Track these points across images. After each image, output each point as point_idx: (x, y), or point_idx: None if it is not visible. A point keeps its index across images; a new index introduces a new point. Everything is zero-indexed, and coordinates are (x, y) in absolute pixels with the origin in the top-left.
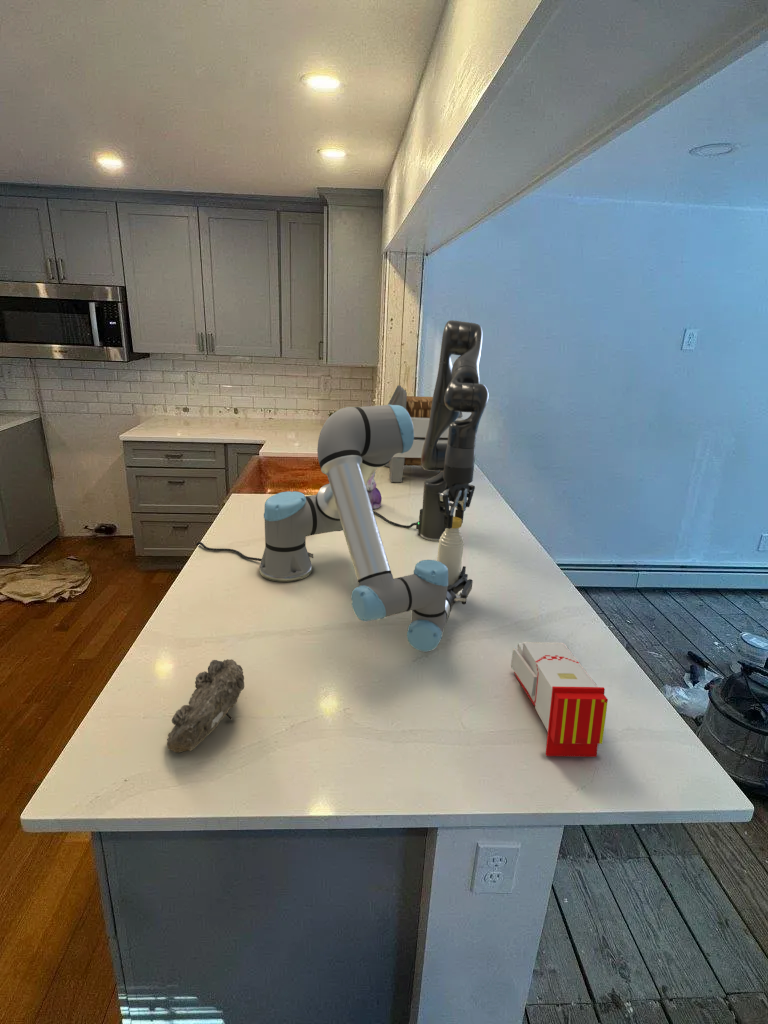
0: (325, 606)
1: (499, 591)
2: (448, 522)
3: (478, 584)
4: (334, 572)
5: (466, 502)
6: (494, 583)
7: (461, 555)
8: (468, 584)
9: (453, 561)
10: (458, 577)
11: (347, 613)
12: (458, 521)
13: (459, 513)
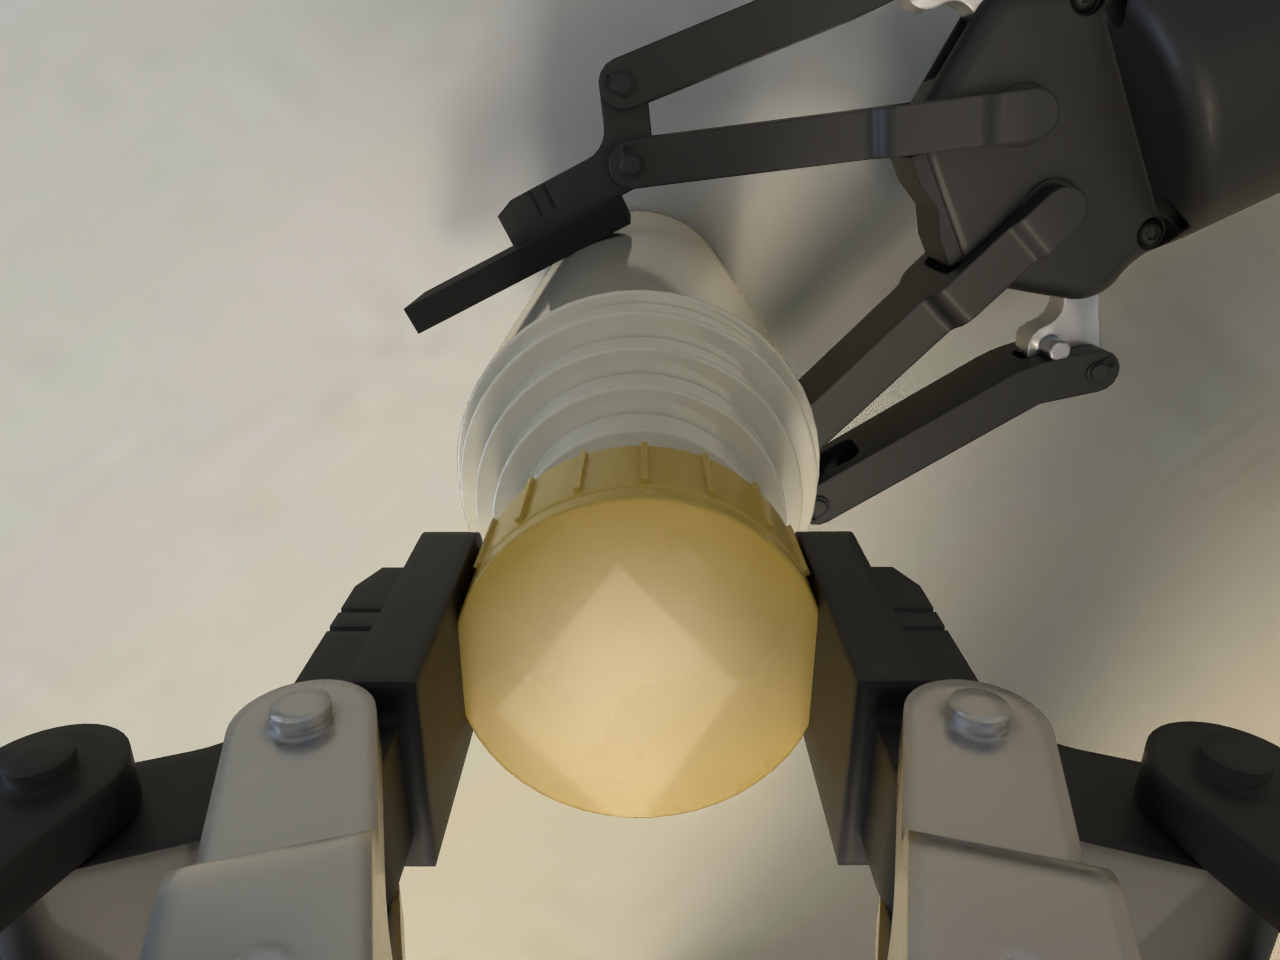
0: None
1: (189, 50)
2: (934, 620)
3: (246, 258)
4: (869, 956)
5: (28, 904)
6: (112, 171)
7: (612, 268)
8: (719, 38)
9: (730, 290)
10: (631, 233)
11: (1247, 608)
12: (677, 526)
13: (440, 713)
